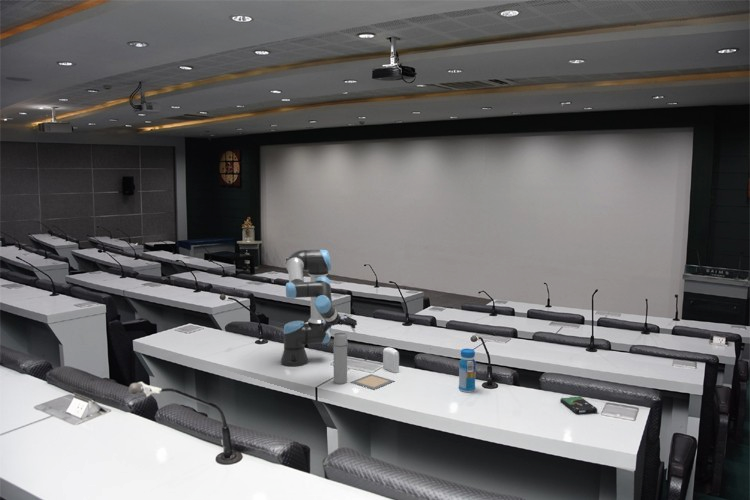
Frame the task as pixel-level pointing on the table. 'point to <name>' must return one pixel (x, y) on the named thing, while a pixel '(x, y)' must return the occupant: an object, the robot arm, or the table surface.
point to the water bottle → (340, 358)
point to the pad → (372, 381)
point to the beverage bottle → (467, 370)
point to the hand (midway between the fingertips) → (342, 332)
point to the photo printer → (391, 359)
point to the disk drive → (578, 405)
